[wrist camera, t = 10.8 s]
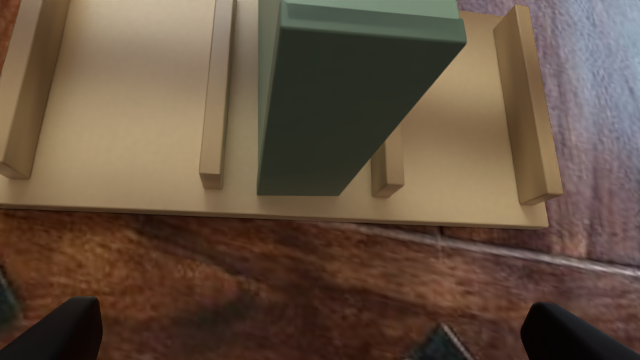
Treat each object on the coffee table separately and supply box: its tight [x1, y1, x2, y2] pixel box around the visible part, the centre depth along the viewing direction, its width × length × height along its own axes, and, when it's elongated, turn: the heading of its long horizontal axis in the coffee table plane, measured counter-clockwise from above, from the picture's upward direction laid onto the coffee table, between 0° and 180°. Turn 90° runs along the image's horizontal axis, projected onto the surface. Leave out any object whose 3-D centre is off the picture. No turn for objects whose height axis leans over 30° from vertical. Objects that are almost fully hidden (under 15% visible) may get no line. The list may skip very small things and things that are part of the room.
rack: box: [0, 0, 563, 230], centre depth 19 cm, size 12×24×3 cm, turn 90°
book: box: [256, 0, 467, 196], centre depth 14 cm, size 10×4×11 cm, turn 2°
